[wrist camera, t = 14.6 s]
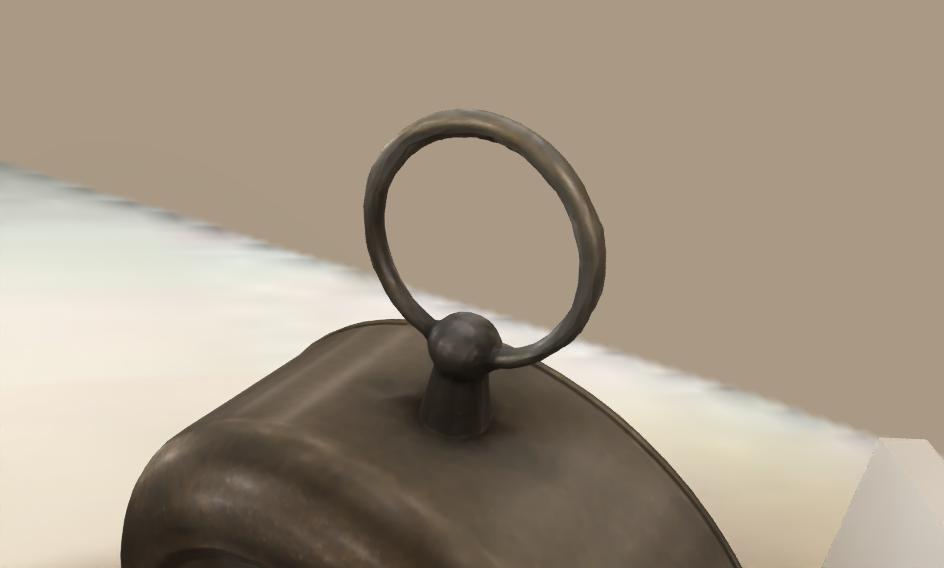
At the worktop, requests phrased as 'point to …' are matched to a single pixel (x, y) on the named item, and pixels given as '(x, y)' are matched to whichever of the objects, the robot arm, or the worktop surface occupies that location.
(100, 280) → the worktop surface
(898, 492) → the robot arm
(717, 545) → the alarm clock
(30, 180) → the worktop surface
